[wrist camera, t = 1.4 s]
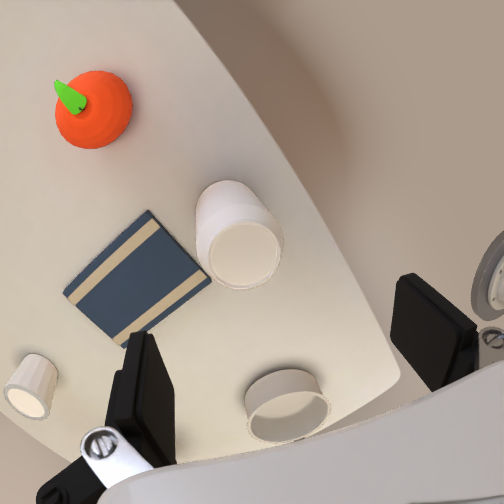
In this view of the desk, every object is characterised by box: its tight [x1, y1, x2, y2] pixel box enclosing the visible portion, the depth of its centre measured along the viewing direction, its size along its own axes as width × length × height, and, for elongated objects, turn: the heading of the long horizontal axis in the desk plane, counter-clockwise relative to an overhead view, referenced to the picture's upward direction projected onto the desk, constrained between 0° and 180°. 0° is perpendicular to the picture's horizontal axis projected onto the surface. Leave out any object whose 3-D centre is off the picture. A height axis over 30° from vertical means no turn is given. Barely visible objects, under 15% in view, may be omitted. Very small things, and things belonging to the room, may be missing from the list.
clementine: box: [54, 71, 133, 149], centre depth 23 cm, size 8×7×7 cm
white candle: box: [3, 354, 58, 420], centre depth 33 cm, size 7×7×7 cm
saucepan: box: [244, 369, 331, 444], centre depth 43 cm, size 12×20×6 cm, turn 18°
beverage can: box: [195, 180, 284, 290], centre depth 27 cm, size 6×6×12 cm
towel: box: [63, 210, 212, 349], centre depth 33 cm, size 14×10×1 cm
